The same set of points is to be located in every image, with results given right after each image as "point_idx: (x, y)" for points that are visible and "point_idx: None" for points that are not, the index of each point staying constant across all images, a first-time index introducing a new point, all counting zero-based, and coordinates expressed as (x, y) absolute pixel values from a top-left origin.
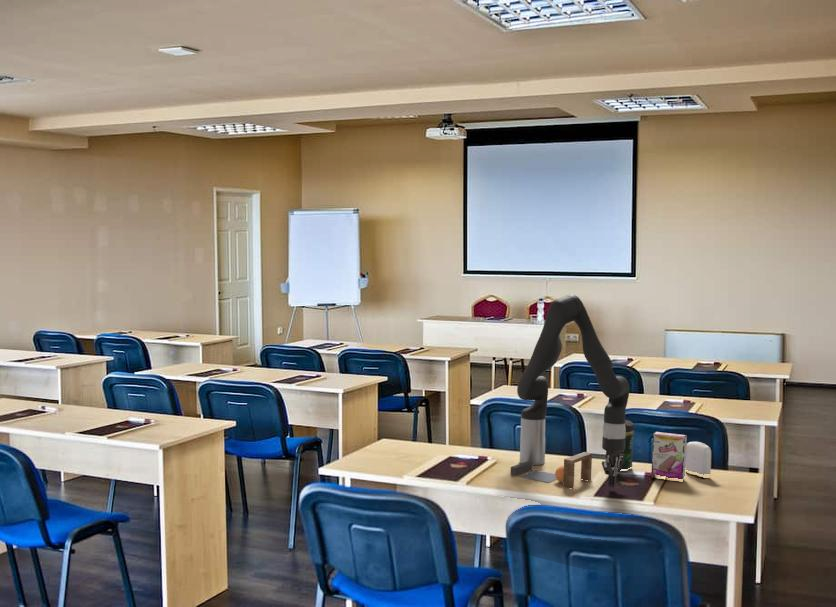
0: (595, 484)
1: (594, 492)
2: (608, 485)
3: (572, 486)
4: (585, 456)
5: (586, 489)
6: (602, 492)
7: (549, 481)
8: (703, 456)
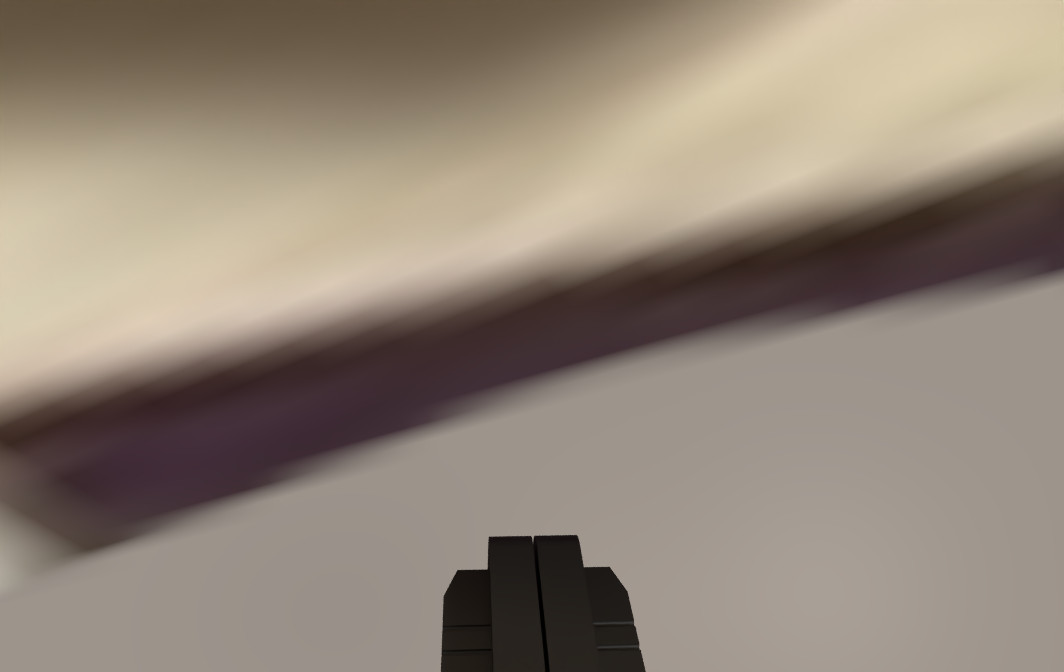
0: (813, 78)
1: (148, 346)
2: (491, 537)
3: None
4: None
5: (214, 107)
6: (285, 446)
7: None
8: None
